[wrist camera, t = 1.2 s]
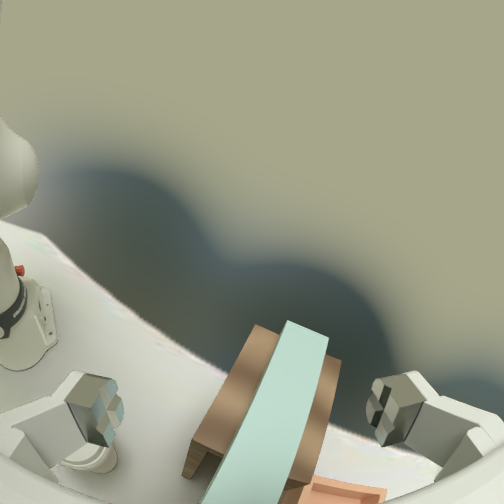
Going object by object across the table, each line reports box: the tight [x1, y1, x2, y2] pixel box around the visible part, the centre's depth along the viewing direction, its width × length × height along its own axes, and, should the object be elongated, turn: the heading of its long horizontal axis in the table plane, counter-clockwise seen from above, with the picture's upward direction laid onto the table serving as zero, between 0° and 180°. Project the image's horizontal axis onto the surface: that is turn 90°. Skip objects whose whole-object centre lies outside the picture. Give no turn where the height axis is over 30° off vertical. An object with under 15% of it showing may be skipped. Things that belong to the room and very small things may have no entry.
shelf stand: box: [182, 325, 341, 492], centre depth 30 cm, size 14×10×26 cm
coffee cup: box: [59, 442, 117, 473], centre depth 26 cm, size 10×10×15 cm
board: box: [199, 321, 329, 504], centre depth 18 cm, size 23×4×2 cm, turn 159°
